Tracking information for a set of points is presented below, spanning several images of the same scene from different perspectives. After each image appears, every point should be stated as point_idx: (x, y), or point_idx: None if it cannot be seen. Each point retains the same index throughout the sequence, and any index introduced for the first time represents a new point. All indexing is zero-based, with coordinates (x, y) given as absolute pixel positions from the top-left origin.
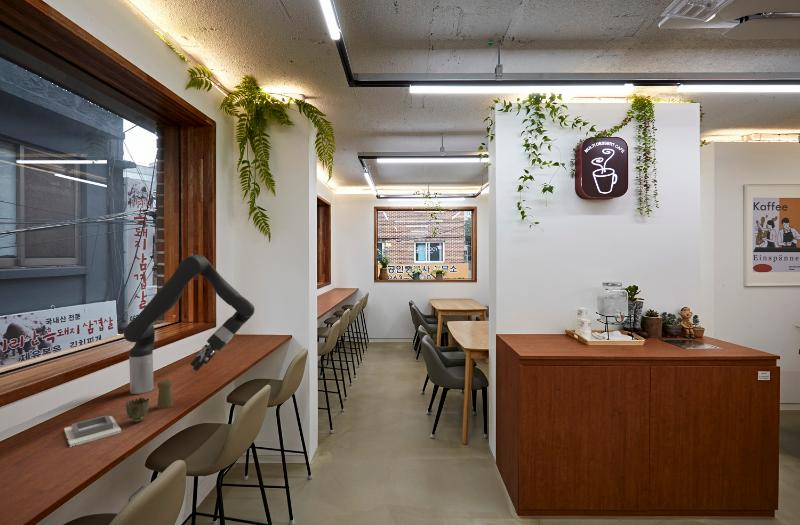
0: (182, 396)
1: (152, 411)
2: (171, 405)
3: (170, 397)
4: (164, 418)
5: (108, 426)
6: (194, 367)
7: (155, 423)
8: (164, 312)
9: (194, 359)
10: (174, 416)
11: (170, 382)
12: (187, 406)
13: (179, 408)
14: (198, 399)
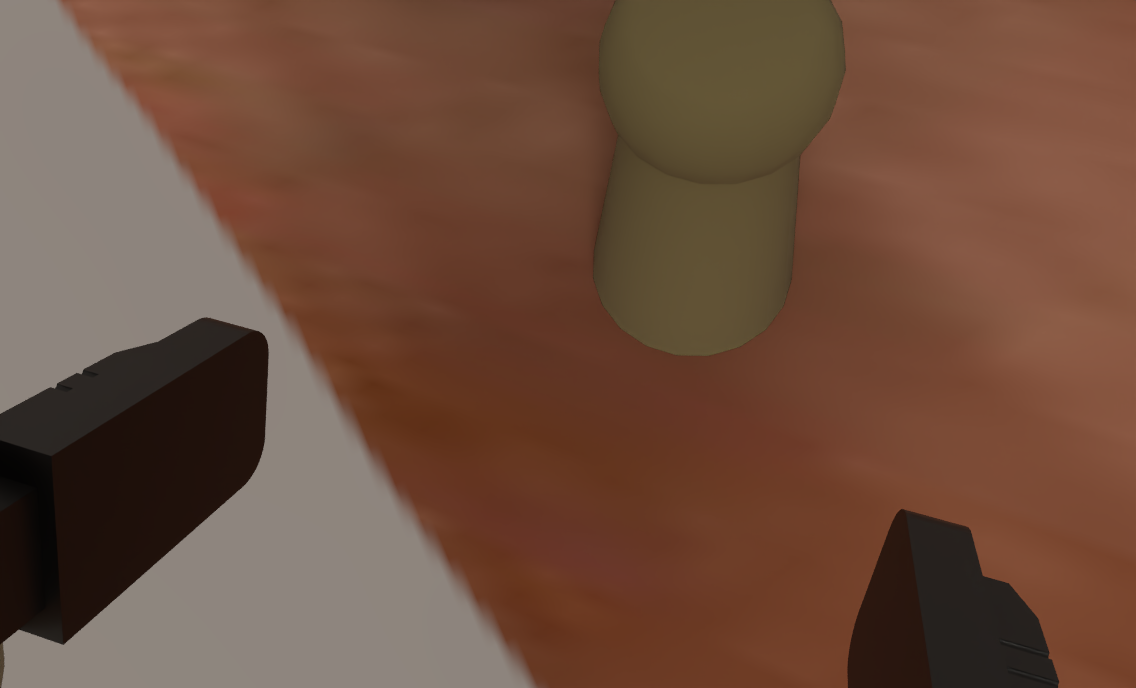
0: None
1: None
2: (607, 302)
3: (620, 243)
4: (277, 126)
5: None
6: (186, 345)
7: (233, 36)
8: None
9: (919, 644)
10: (226, 207)
11: (629, 102)
12: (401, 432)
13: (428, 339)
14: (544, 670)
